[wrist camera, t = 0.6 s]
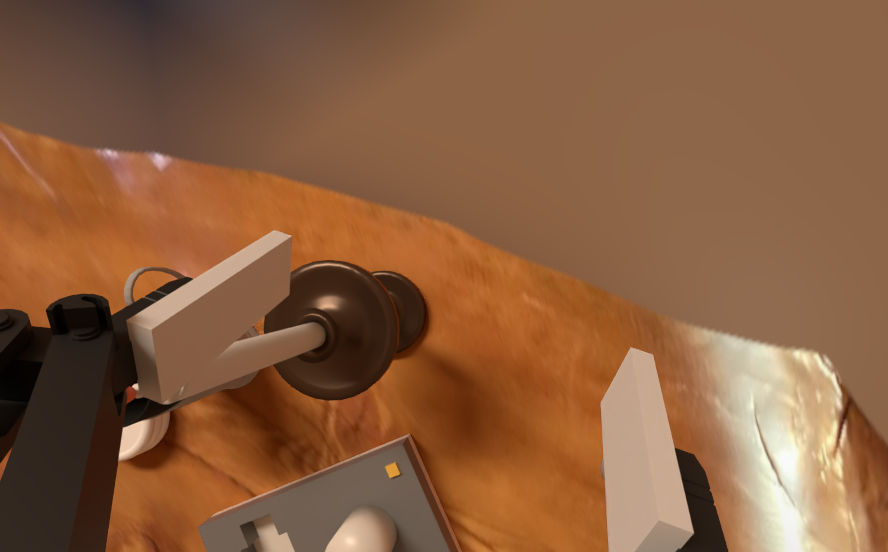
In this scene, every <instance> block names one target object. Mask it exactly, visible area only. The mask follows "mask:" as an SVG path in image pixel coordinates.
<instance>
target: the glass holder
mask: <svg viewBox="0 0 888 552" xmlns="http://www.w3.org/2000/svg"><path fill="white" fill-rule="evenodd" d="M146 271H162V272H165V273H168V274H171V275H173V276H174V277H176V278H178V279H181V278H184V277H185V276H183V275H182V274H180V273H178V272H176V271H174V270H171V269H168V268H163V267H145V268H139V269H137V270H136V271H134V272H133V273H132V274H131V275H130V276H129V278H128V279H127V281H126V285H125V288H124V298H125V302H126V304H127V306H129V305H131V304H132V303H134V302H135V301H134V298H133V288H134V284H135V281H136V280H137V278H138V277H139V275H141V274H142V273H144V272H146ZM256 336H259V334H258V332H257V331H256V329H255V328H254V327H253V326H252V327H251V328H250V329H249V330H248V331H247V332H246V333H244V334H243V335H242V336H241V337H240V338H239V339H237V340H236V341H240V340H244V339H248V338H252V337H256ZM236 341H235V342H236ZM258 372H259V370H258V371H255V372H252V373H250V374H247V375H245V376H242V377H239V378H237V379H234V380H231V381H229V382H226V383H224V384H221V385H218V386H216V387H213V388H211V389H208V390H205V391H203V392H200V393H198V394H195V395H192V396H190V397H187V398H184V399H182V400H179V401H177V402H174V403H171V404H160V403H158V402H156V401H153V400H151V399H148V398H146V397H142V398H135V399H133V400H132V401H130V402H129V403H127V404H126V411H125V418H124V425H123V428H124V427H127V426H130V425H132V424H135V423H137V422H140V421H144V420H149V419H153V418H155V417H158V416H160V415H163V414H165V413H168V412H170V411H173V410H175V409H177V408H180V407H182V406H185V405H187V404H190V403H192V402H195V401H197V400H200V399H202V398H205V397H207V396H210V395H212V394H215V393H217V392H220V391H222V390H224V389H236V388H240V387H242V386H245V385H246V384H248V383H249V382H251V381H252V380H253V379H254V378H255V376H256V375H257V373H258ZM137 383H138V382H137V381H136V382H135V383H133V384H132V385H131V387H132V386H133V385H134V384H137Z"/></svg>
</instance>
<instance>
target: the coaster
mask: <svg viewBox="0 0 888 552" xmlns="http://www.w3.org/2000/svg"><path fill="white" fill-rule="evenodd" d="M169 421H170V412H168V413H165V414H163V415H160V416H158V417H155V418H153V419H149V420H144V421H140V422H137V423H135V424H132V425H130V426H127V427H124V428H123V432H122V439H121V445H120V452H119V459H118V461H123V460H128V459H130V458H133V457H135V456H136V455H139V454H141V453H143V452H145V451H147V450H149V449H151V448H153V447H154V446H155V445H156V444H158V443H159V442H160V440H161V439H162V438H163V437H164V435H165V433H166V431H167V429H168V425H169Z"/></svg>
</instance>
